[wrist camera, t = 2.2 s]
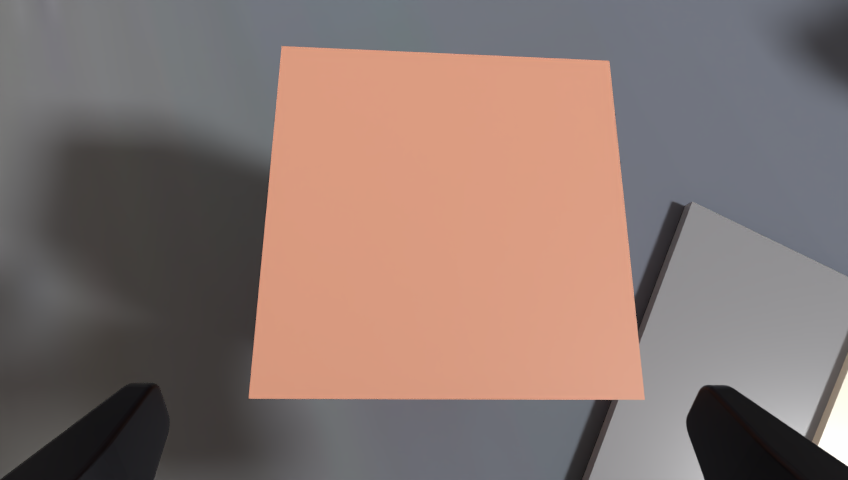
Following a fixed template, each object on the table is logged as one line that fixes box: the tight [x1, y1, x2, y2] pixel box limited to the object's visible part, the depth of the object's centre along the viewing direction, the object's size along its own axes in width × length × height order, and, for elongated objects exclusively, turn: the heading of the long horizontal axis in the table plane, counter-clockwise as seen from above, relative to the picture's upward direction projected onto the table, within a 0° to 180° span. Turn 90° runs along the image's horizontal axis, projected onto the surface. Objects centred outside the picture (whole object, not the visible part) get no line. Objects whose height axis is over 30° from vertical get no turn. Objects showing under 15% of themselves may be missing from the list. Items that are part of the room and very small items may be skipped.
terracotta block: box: [249, 46, 645, 400], centre depth 13 cm, size 5×5×12 cm
